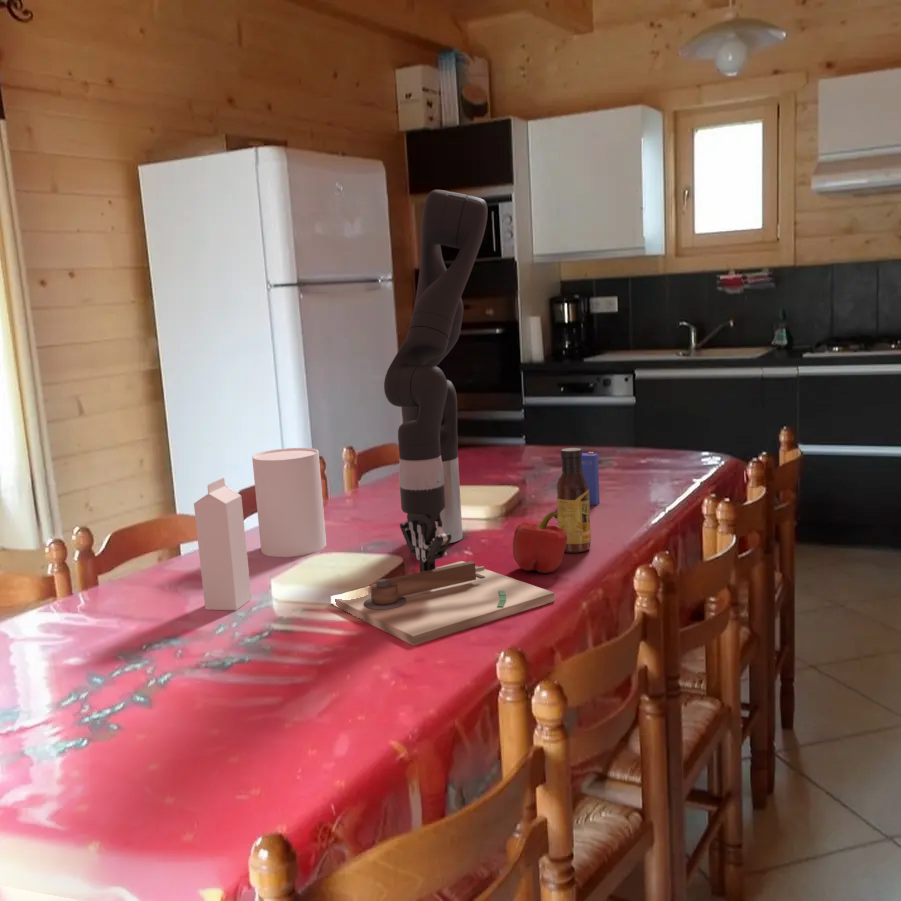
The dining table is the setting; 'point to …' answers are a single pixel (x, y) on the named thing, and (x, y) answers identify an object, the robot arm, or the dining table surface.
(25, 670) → the dining table surface
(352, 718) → the dining table surface
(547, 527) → the vegetable
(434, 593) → the dial board
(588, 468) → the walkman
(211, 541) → the milk
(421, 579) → the dial lever
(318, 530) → the canister
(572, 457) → the sauce bottle
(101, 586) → the dining table surface
